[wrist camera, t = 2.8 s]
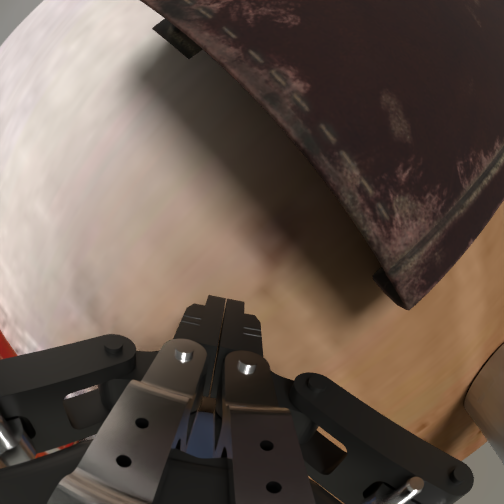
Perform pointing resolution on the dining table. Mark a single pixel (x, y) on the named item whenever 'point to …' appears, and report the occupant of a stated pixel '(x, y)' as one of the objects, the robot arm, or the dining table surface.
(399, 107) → the diary
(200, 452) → the slate blue ball
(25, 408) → the robot arm
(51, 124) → the dining table surface
